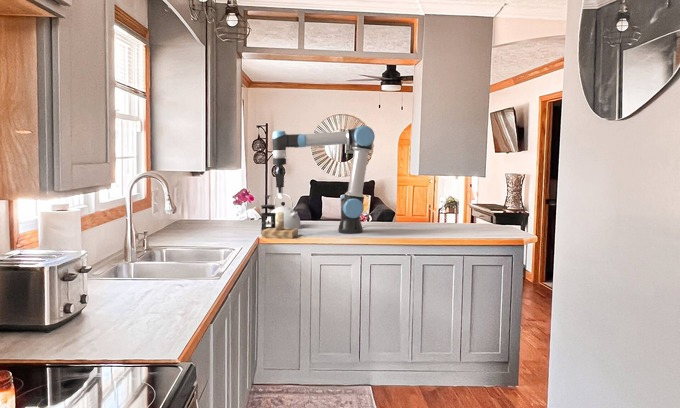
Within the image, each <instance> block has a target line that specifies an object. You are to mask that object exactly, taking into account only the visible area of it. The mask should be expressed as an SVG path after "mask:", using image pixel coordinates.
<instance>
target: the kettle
mask: <svg viewBox="0 0 680 408" xmlns="http://www.w3.org/2000/svg"><path fill="white" fill-rule="evenodd" d="M283 196H287V197H288V198H289V199H290V203H291V204H290V205H291V206H290V207H288V206H285V205H286V203H285V201H282V202H281V203H280V204H281V206H278V207H277V205H276V202H277V199H278V194H277V195H276V196H275V198H274V200H273V201H274V203H273V205H276V206H275V209H273V210H271V211H270V213H278V212H282V213H284V228H298V230H299V229H301V228H302V227H301V226H302V225H301V219H300V215H299V214H298V211H296V210H294V209H293V206H294V205H293V204H294V203H293V199H292V197H291V196H290V195H289V194H286V193H283ZM266 222H268V217H267V218H266ZM269 222H271V217H269ZM275 224H276V216H275ZM266 227H271V224H270V225H266Z"/></svg>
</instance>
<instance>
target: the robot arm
mask: <svg viewBox="0 0 680 408" xmlns="http://www.w3.org/2000/svg"><path fill="white" fill-rule="evenodd" d="M375 137H376V136H375V131H374V130H373V129H372V128H371V127H370V126H369V125H360V126H358V127H355V128H351V129H350V128H349V129H346V131H344V130H343V131H332V132H330V131H329V132H319V133H307V134H306V133H304V134H302V133H297V134H295V133H294V134H293V133H291V134H287V133H286V131H285V130H274V131H273V132H272V152H271V154H272V157H273V159H272V164H273V165H274V166H276V167H275V170H274V174H275V184H276V185H275V187H276V188H277V195H278V197H277V199H284V195H283V194H284V188H285V171H286V170H285V168H284V166H285V165H287V158H286V157H287V149H286V148H294V149H296V148H297V149H298V148H305V147H321V146H335V145H347V146H351V148H352V150H353V155H352V161H351V169H350V175H349V181H348V188H347V191H346V192H345V193H344V194H342V195H340V222H339V225H338V229H337V230H338V231H337V232H338V233H340V234H361V233H363V232H364V231H363V230H364V229H363V224H362V222H361V221H362V220H361V215H362V214H363V212H364V209H365V207H364V201H365V196H364V194H363V189H364V185H365V184H364V183H365V179H366V177H365V176H366V171H367V167H368V166H367V164H368V160H369V158H368V157H369V153H370V152H372V150H373V149H372V148H373V143H374V141H375Z"/></svg>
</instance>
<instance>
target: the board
mask: <svg viewBox="0 0 680 408" xmlns="http://www.w3.org/2000/svg"><path fill="white" fill-rule="evenodd" d="M295 236H296V237H298V236H299V229H298V228H284V230H283V231H278V230H276V228H267V229H265V230H263V231H262V234H261V239H286V240H287V239H289V240H293V239H294V238H296V237H295Z"/></svg>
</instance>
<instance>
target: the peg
mask: <svg viewBox="0 0 680 408" xmlns="http://www.w3.org/2000/svg"><path fill="white" fill-rule="evenodd" d="M276 230H278V231H283V230H284V213H282V212H278V213H276Z"/></svg>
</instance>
